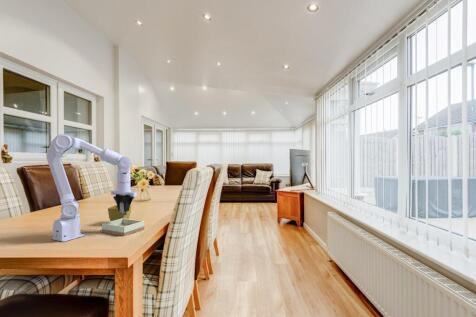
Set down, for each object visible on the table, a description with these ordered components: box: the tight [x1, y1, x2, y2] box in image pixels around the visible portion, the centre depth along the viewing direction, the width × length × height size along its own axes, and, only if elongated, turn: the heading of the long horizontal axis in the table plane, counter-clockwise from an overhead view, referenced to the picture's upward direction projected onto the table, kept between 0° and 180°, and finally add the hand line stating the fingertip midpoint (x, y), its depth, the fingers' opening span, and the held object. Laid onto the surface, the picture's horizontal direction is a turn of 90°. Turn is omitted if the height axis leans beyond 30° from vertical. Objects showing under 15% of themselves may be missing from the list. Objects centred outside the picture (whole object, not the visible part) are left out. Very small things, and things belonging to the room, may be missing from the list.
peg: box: [120, 202, 127, 216], centre depth 123 cm, size 3×3×6 cm
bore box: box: [101, 218, 145, 237], centre depth 123 cm, size 12×14×4 cm
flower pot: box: [107, 204, 132, 222], centre depth 136 cm, size 9×9×9 cm
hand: (123, 210), depth 123 cm, fingers closed on peg, 3 cm apart
